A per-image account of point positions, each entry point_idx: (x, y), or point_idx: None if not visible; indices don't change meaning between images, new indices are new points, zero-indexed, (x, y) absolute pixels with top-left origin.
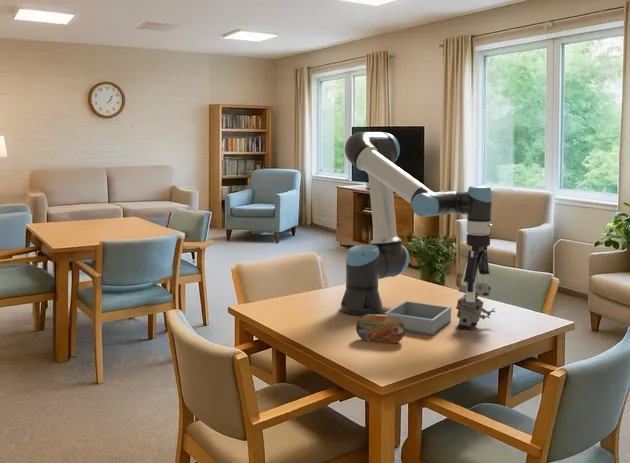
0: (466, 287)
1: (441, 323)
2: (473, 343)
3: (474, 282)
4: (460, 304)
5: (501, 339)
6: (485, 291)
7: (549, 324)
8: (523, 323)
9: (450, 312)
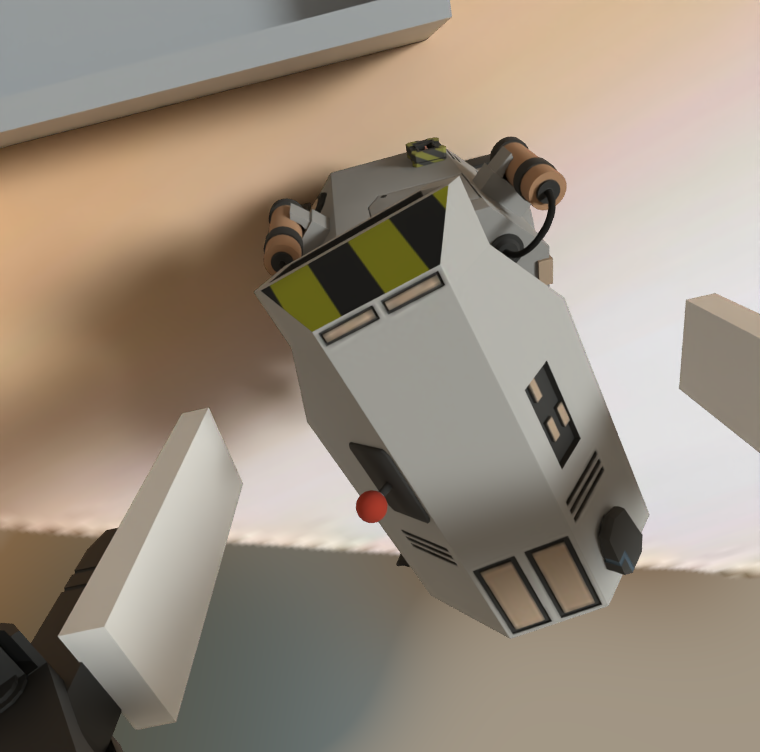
0: (111, 541)
1: (151, 104)
2: (106, 434)
3: (132, 723)
4: (312, 244)
5: (301, 492)
6: (420, 574)
7: (725, 528)
8: (679, 443)
9: (419, 31)
